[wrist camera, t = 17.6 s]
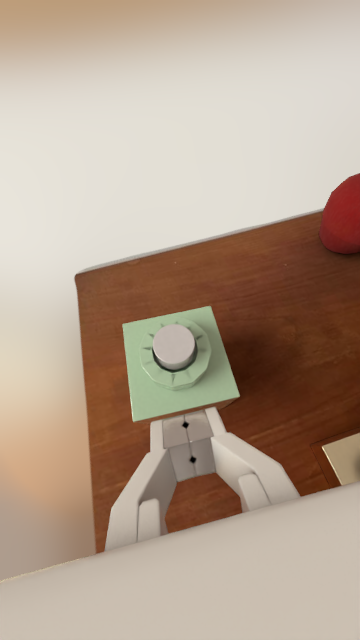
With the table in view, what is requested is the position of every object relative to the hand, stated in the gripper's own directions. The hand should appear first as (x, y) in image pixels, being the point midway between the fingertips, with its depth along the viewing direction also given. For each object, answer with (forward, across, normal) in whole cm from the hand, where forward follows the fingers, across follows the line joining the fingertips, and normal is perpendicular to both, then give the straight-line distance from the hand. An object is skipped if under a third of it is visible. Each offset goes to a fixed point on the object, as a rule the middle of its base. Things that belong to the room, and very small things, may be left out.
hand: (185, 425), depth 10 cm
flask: (+20, 0, -11) cm, 23 cm away
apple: (+34, +36, +3) cm, 50 cm away
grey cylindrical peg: (+10, 0, -1) cm, 11 cm away
